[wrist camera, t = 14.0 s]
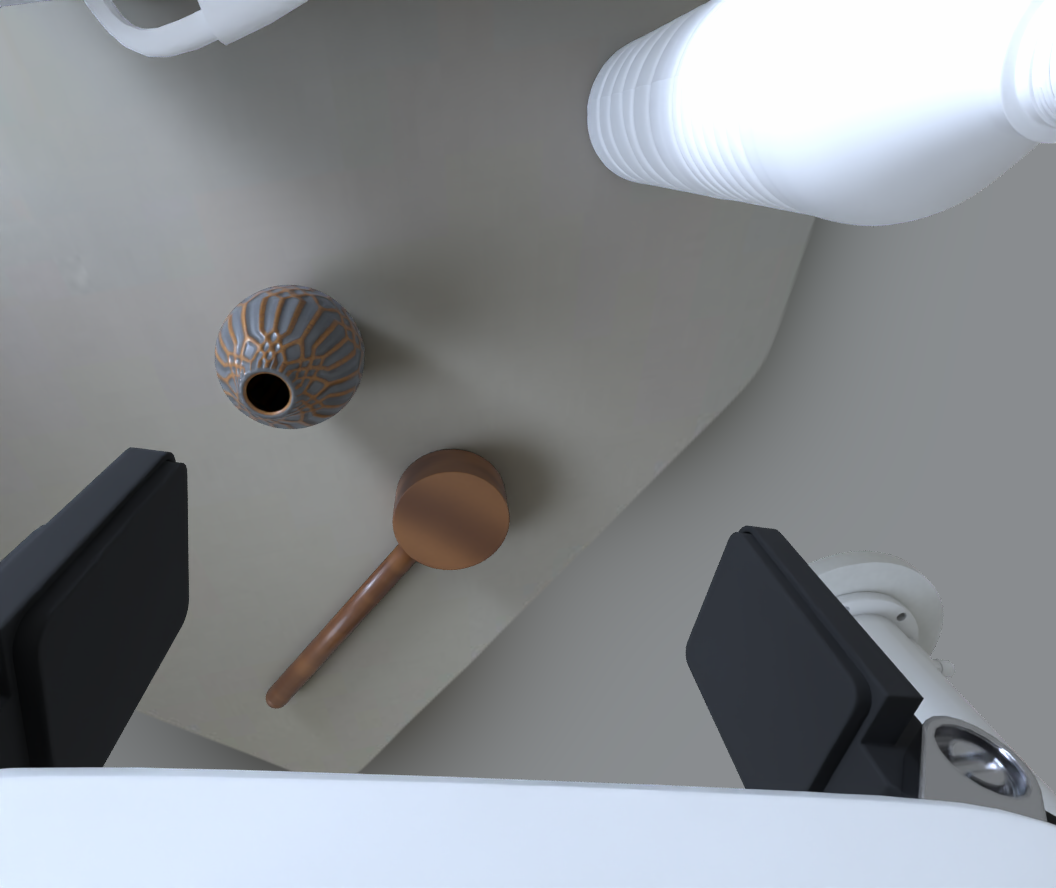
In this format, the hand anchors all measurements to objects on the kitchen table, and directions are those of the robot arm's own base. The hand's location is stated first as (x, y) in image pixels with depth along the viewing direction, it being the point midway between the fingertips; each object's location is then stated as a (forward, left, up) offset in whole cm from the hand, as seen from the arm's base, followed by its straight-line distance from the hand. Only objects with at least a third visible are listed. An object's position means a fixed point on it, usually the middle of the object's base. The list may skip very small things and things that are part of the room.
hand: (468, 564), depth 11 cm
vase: (+7, +5, -26) cm, 28 cm away
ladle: (+1, +21, -26) cm, 33 cm away
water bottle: (-9, -11, -26) cm, 30 cm away
